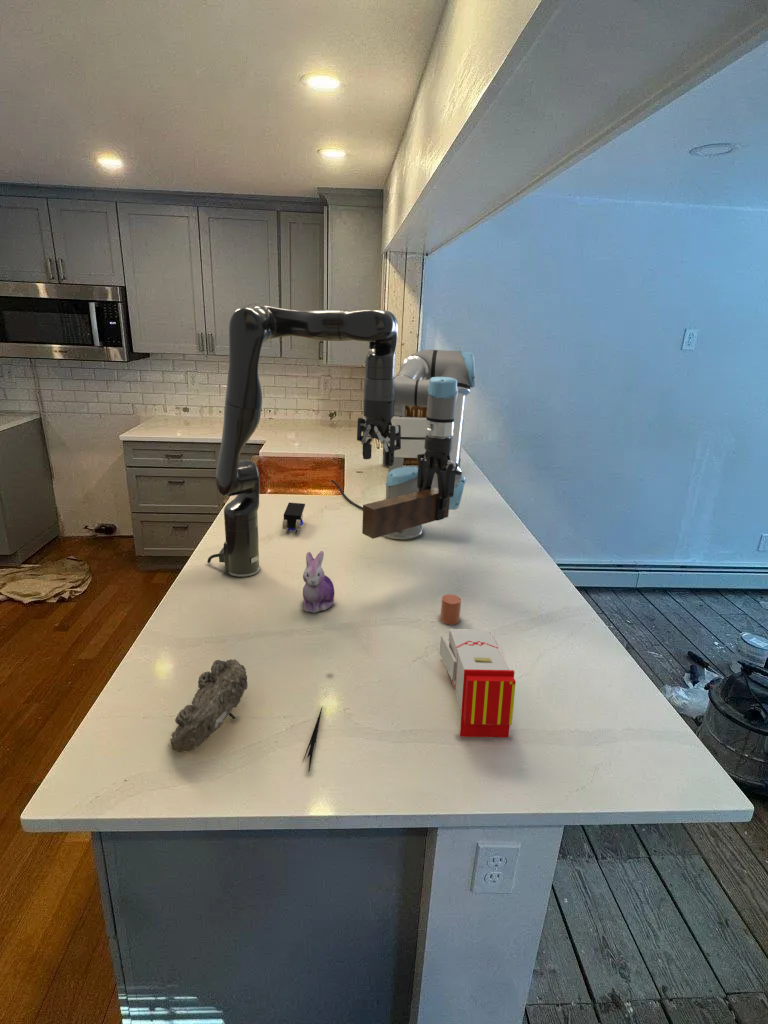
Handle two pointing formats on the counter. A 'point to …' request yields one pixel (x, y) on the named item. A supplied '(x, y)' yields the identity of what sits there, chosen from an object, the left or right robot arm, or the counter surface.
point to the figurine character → (293, 517)
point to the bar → (400, 513)
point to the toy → (479, 682)
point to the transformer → (410, 435)
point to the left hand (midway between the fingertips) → (377, 462)
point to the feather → (313, 740)
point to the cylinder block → (450, 609)
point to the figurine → (316, 585)
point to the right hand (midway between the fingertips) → (432, 516)
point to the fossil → (210, 704)
